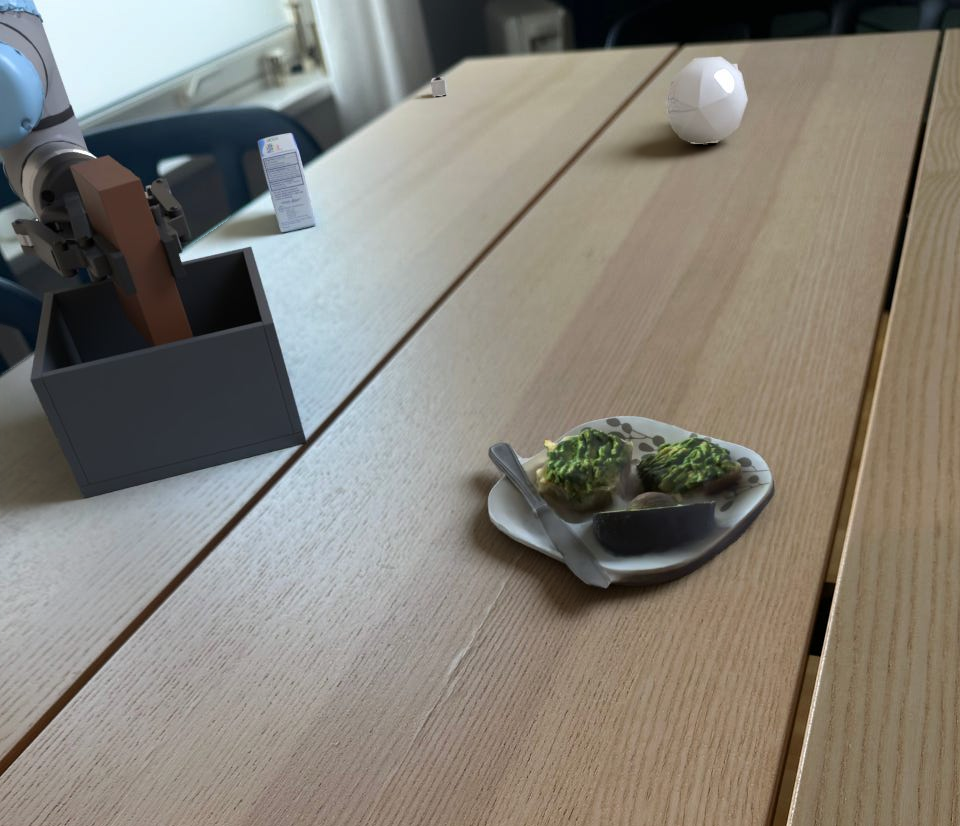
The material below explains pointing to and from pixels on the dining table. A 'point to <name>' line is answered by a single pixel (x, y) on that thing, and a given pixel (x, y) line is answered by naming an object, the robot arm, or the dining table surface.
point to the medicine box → (286, 182)
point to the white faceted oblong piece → (706, 100)
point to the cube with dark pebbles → (439, 86)
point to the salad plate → (629, 499)
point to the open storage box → (164, 379)
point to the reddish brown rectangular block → (133, 248)
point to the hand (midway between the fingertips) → (150, 267)
